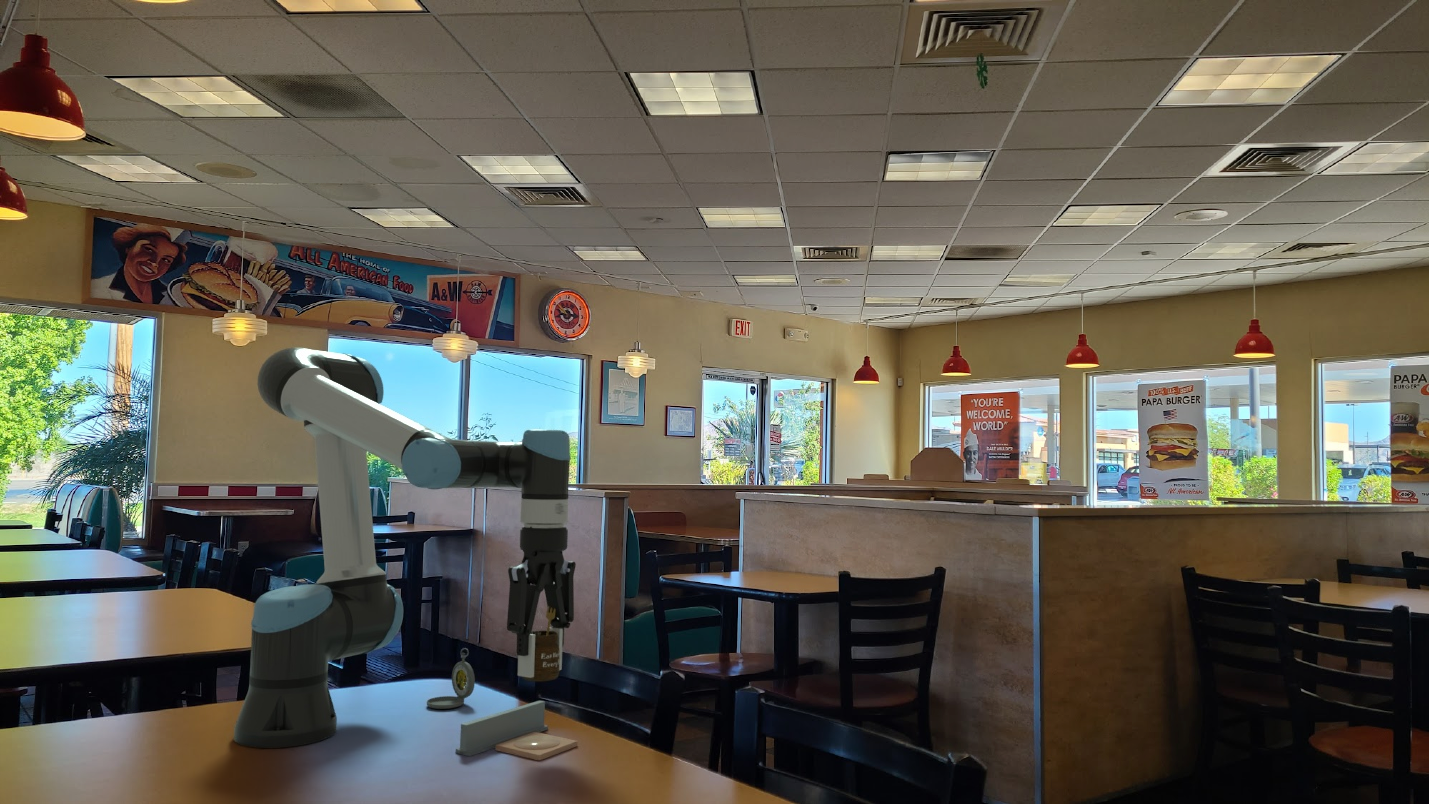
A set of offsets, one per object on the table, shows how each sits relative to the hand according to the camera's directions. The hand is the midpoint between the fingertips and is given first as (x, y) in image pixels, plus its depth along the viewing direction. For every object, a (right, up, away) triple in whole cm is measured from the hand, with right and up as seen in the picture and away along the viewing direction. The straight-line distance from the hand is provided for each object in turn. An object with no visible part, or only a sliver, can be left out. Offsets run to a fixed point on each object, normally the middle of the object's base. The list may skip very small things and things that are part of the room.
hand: (539, 672), depth 150 cm
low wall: (-6, -12, +3) cm, 14 cm away
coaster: (0, -12, -1) cm, 12 cm away
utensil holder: (0, -1, 0) cm, 1 cm away
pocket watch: (-21, -13, +24) cm, 35 cm away
